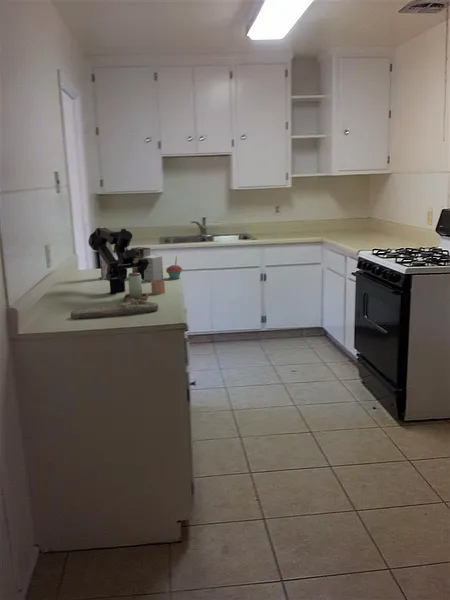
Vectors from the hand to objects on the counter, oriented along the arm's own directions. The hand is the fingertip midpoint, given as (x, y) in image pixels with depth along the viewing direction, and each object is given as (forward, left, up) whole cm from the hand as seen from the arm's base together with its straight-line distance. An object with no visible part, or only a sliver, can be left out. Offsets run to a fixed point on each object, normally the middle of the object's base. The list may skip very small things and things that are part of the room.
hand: (134, 281), depth 255 cm
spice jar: (0, -1, -7) cm, 8 cm away
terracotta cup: (+10, +11, -8) cm, 17 cm away
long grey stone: (-6, -26, -9) cm, 28 cm away
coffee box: (-1, +60, -9) cm, 60 cm away
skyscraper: (-20, +61, -9) cm, 64 cm away
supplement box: (+6, +49, -9) cm, 50 cm away
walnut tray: (0, -1, -8) cm, 8 cm away
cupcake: (+17, +51, -9) cm, 54 cm away
